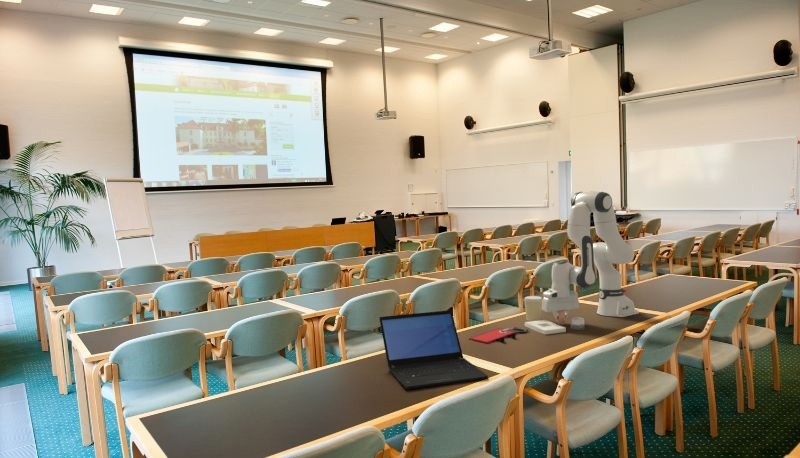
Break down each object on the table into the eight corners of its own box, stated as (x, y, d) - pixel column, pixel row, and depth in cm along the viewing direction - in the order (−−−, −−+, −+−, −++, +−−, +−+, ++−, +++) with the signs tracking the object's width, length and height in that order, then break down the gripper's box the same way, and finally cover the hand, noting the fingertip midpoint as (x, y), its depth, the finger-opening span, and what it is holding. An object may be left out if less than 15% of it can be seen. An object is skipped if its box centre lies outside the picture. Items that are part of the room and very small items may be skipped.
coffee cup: (541, 317, 297) (540, 295, 296) (544, 321, 287) (543, 299, 286) (523, 317, 298) (523, 295, 297) (526, 322, 288) (525, 299, 287)
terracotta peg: (561, 322, 285) (561, 309, 285) (566, 324, 281) (566, 310, 281) (555, 323, 284) (555, 309, 283) (560, 324, 280) (559, 311, 280)
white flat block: (544, 323, 284) (544, 319, 284) (565, 331, 267) (565, 327, 267) (524, 325, 280) (524, 322, 280) (544, 334, 263) (544, 330, 263)
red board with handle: (532, 332, 269) (507, 327, 280) (532, 326, 268) (507, 322, 280) (493, 346, 249) (468, 341, 260) (493, 340, 249) (468, 335, 260)
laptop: (405, 392, 198) (403, 339, 196) (380, 361, 234) (378, 316, 232) (489, 380, 207) (488, 329, 205) (452, 352, 243) (451, 309, 241)
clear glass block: (578, 326, 277) (578, 316, 277) (587, 329, 271) (586, 319, 270) (568, 327, 275) (568, 317, 275) (576, 330, 269) (576, 320, 268)
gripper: (573, 289, 288) (574, 315, 289) (540, 293, 281) (540, 319, 282) (581, 291, 282) (581, 317, 283) (547, 295, 275) (547, 322, 276)
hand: (560, 318), depth 282 cm, fingers closed on terracotta peg, 4 cm apart
